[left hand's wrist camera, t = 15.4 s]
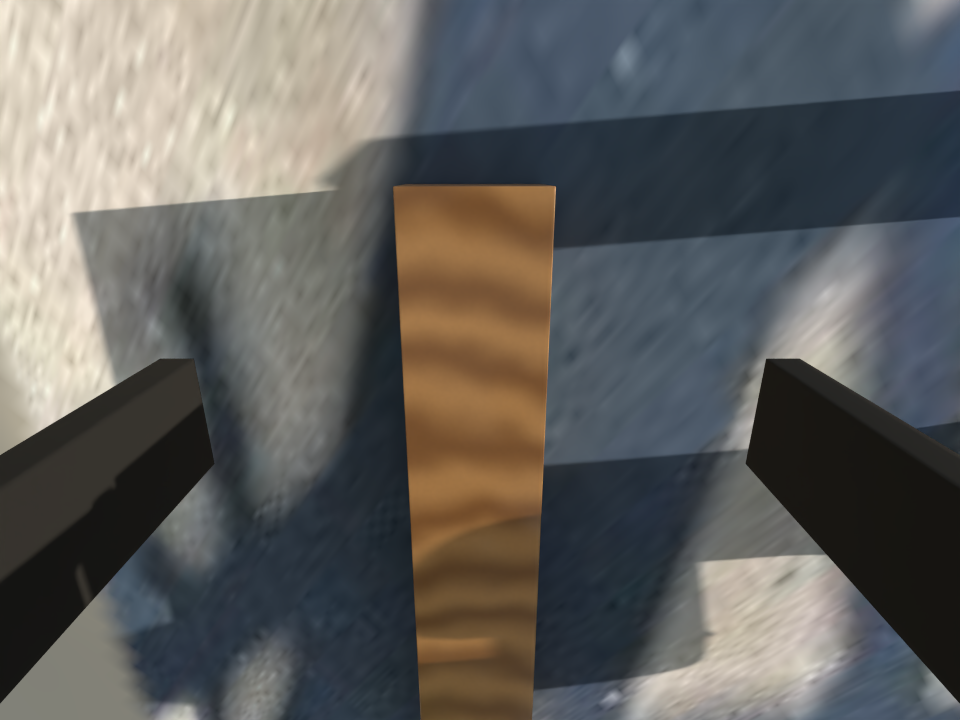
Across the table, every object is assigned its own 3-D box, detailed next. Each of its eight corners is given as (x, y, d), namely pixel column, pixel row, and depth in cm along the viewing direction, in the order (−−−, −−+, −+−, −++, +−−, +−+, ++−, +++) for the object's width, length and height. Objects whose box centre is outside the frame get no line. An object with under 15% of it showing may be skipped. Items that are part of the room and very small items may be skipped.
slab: (405, 183, 38) (392, 186, 32) (542, 183, 38) (555, 186, 32) (430, 736, 57) (425, 806, 50) (522, 735, 57) (528, 804, 51)
